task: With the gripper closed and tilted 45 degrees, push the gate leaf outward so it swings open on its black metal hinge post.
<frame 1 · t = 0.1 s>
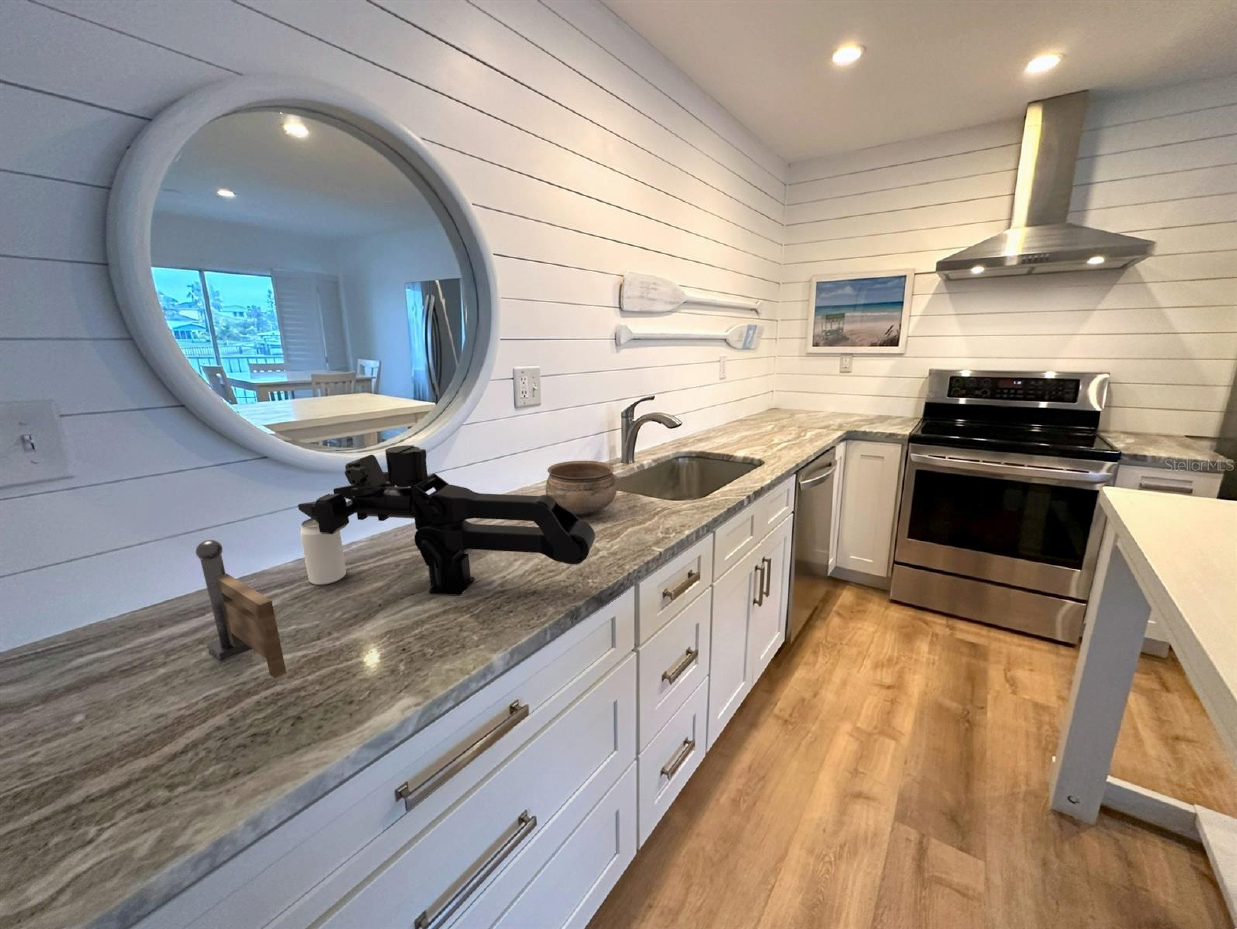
hand: (317, 498, 93), 17 cm above the countertop, tool horizontal, fingers open, 9 cm apart
food container: (447, 545, 113), on the countertop
gate: (249, 623, 69), point 8 cm above the countertop, hinge at 0.0°
cooking pot: (581, 513, 133), on the countertop
gate post: (237, 652, 75), on the countertop
can: (328, 578, 98), on the countertop
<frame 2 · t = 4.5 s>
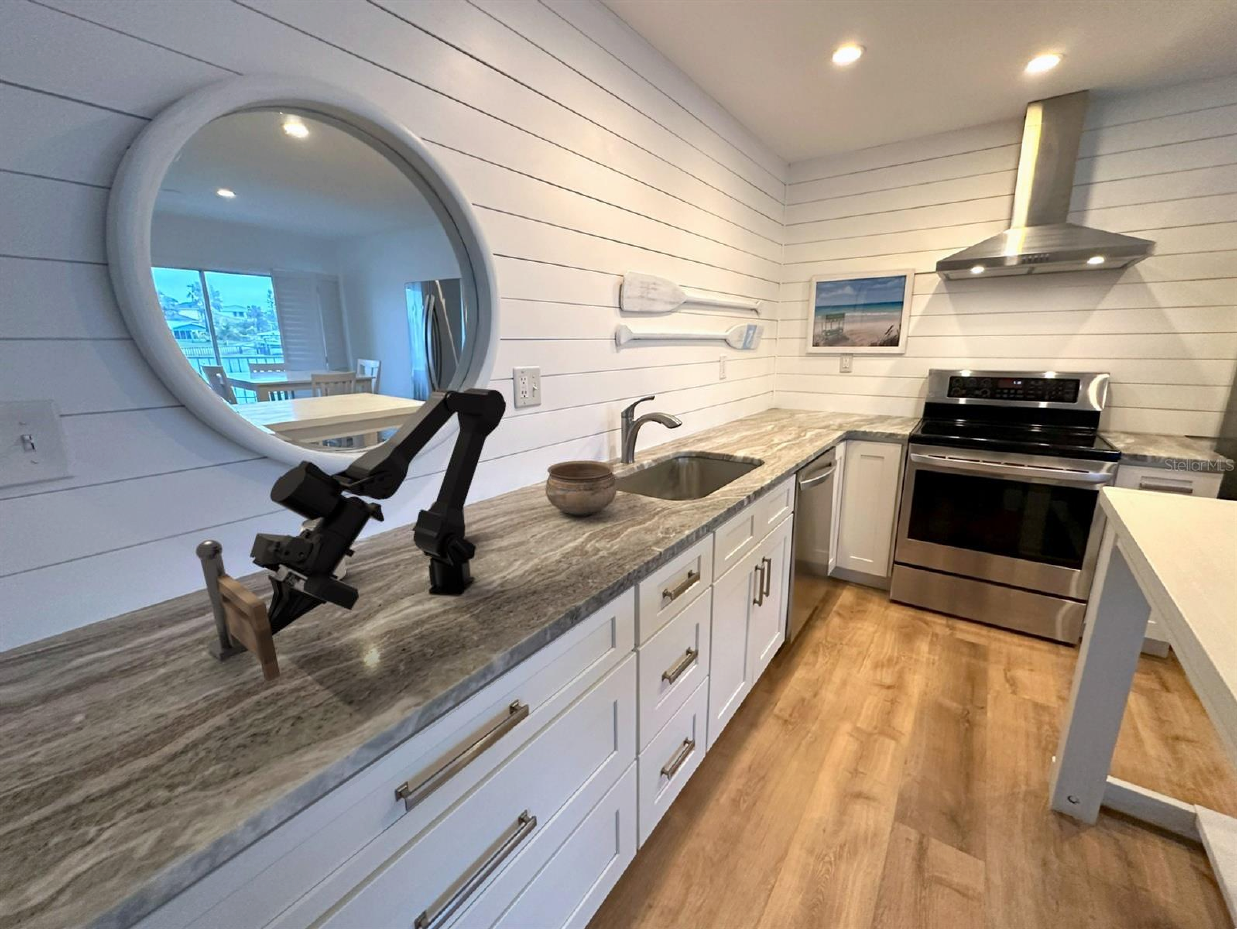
hand: (265, 635, 68), 7 cm above the countertop, tool tilted 45°, fingers closed, pressing on gate
gate: (246, 625, 69), point 7 cm above the countertop, hinge at -2.9°, touching gripper
everything else where it was.
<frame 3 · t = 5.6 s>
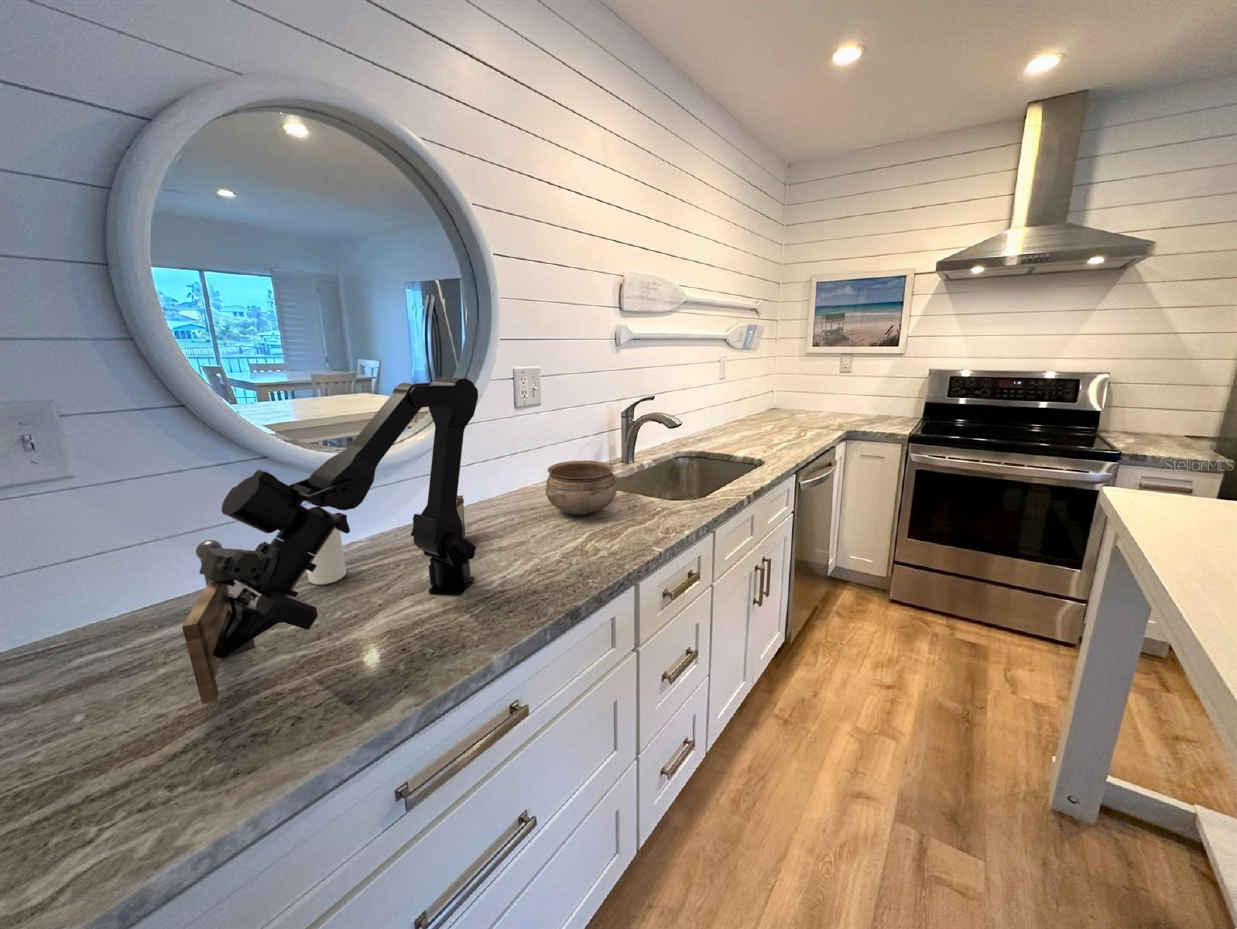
hand: (217, 656, 63), 7 cm above the countertop, tool tilted 45°, fingers closed
gate: (214, 634, 66), point 7 cm above the countertop, hinge at -30.2°, touching gripper
everything else where it was.
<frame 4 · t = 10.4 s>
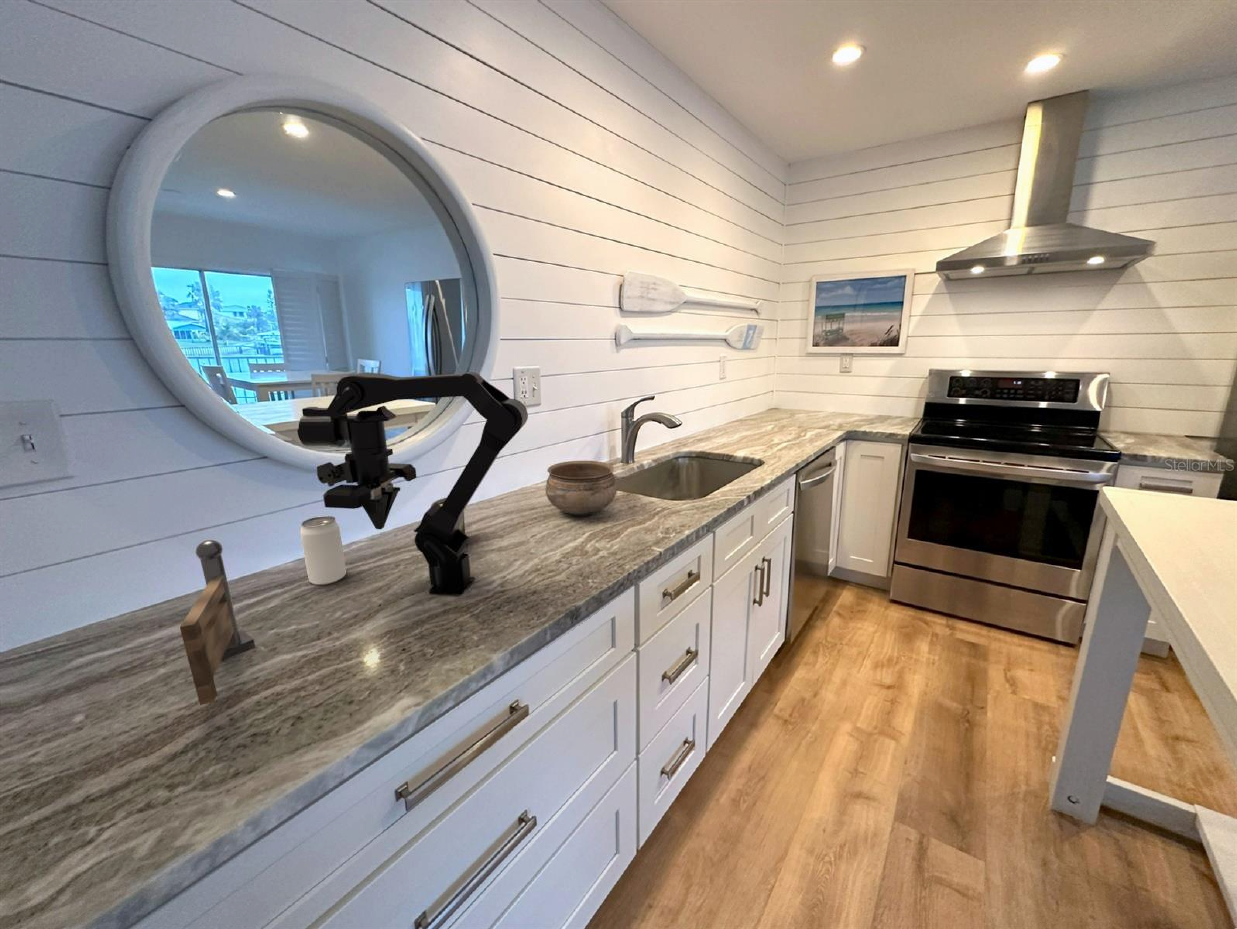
hand: (379, 528, 91), 12 cm above the countertop, tool pointing down, fingers closed
gate: (213, 635, 66), point 8 cm above the countertop, hinge at -31.0°
everything else where it was.
at the end: gate at -31° (first picture: +0°); can moved 0.2 cm from its start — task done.
